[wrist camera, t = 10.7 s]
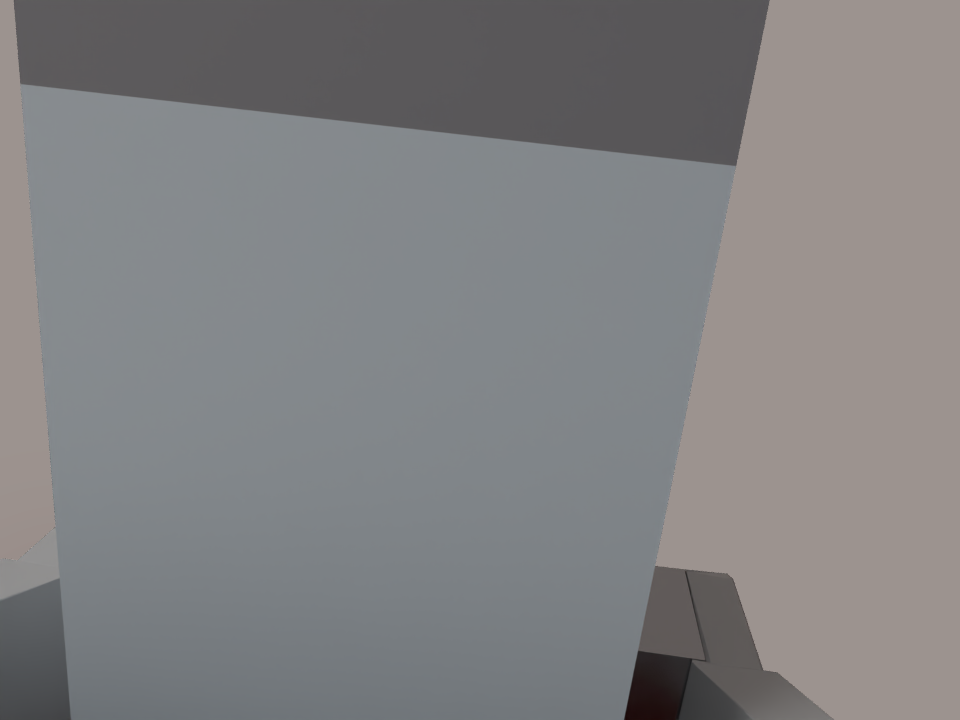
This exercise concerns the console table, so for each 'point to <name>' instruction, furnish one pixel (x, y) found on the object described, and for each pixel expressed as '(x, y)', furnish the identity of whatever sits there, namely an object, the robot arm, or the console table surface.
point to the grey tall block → (370, 341)
